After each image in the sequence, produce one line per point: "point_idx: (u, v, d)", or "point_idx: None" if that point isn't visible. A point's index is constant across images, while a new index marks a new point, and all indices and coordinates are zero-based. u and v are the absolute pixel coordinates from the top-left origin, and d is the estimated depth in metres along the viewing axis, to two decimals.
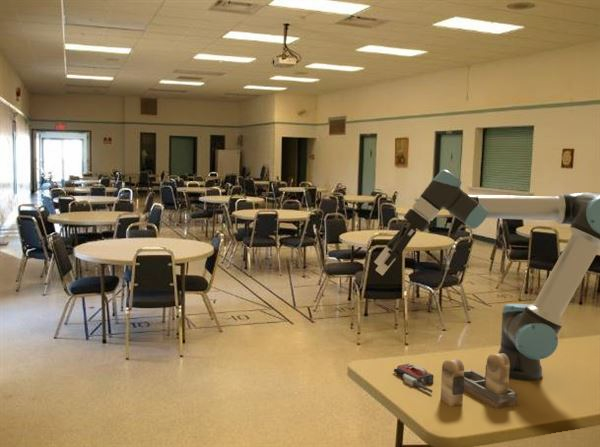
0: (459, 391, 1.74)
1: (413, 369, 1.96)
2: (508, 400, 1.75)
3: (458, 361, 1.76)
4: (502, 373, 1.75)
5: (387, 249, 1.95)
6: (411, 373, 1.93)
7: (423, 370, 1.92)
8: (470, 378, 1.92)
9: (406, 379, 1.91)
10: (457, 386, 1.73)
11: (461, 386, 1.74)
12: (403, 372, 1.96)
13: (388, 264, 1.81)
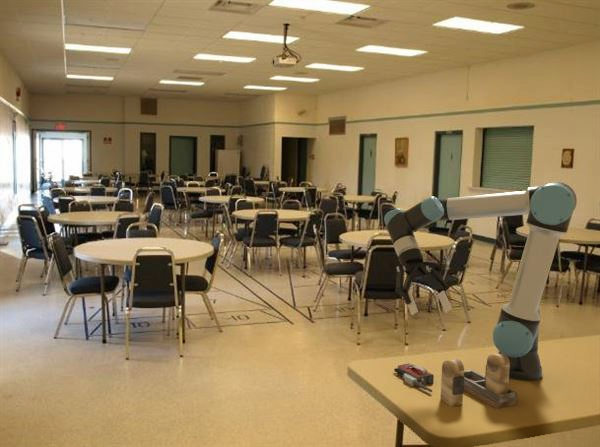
0: (459, 391, 1.74)
1: (413, 369, 1.96)
2: (508, 400, 1.75)
3: (458, 361, 1.76)
4: (502, 373, 1.75)
5: (439, 295, 1.94)
6: (411, 373, 1.93)
7: (423, 370, 1.92)
8: (470, 378, 1.92)
9: (406, 379, 1.91)
10: (457, 386, 1.73)
11: (461, 386, 1.74)
12: (403, 372, 1.96)
13: (407, 301, 1.85)
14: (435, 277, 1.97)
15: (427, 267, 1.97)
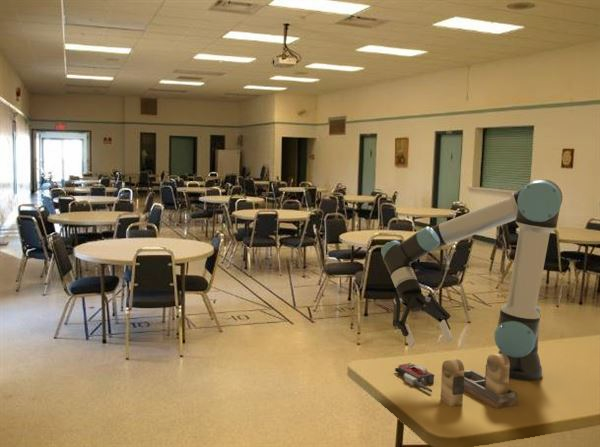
0: (459, 391, 1.74)
1: (414, 368, 1.96)
2: (508, 400, 1.75)
3: (458, 361, 1.76)
4: (502, 373, 1.75)
5: (440, 324, 1.92)
6: (412, 372, 1.93)
7: (424, 370, 1.92)
8: (470, 378, 1.92)
9: (406, 378, 1.91)
10: (457, 386, 1.73)
11: (461, 386, 1.74)
12: (404, 371, 1.96)
13: (404, 333, 1.84)
14: (435, 306, 1.95)
15: (426, 297, 1.96)
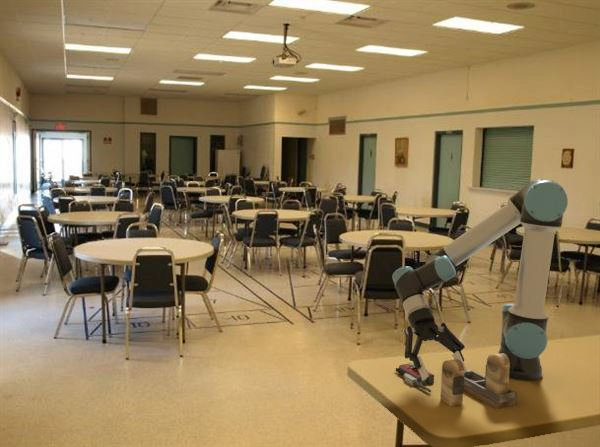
0: (459, 391, 1.74)
1: (414, 369, 1.96)
2: (508, 400, 1.75)
3: (458, 361, 1.76)
4: (502, 373, 1.75)
5: (454, 355, 1.84)
6: (412, 373, 1.93)
7: None
8: (470, 378, 1.92)
9: (406, 378, 1.92)
10: (457, 386, 1.73)
11: (461, 386, 1.74)
12: (404, 371, 1.96)
13: (416, 365, 1.77)
14: (449, 336, 1.87)
15: (439, 326, 1.88)
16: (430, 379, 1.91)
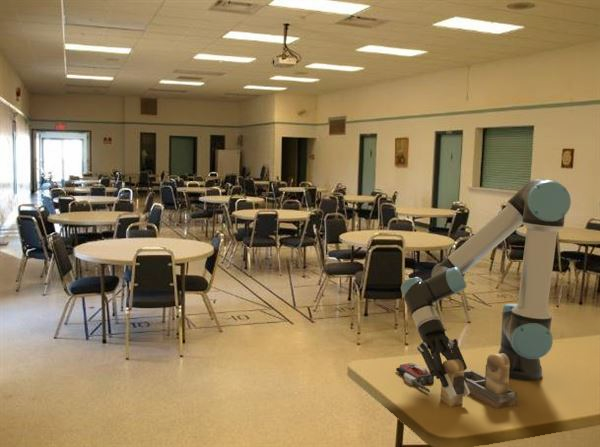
0: (459, 391, 1.74)
1: (414, 368, 1.97)
2: (508, 400, 1.75)
3: (458, 361, 1.76)
4: (502, 373, 1.75)
5: None
6: (412, 372, 1.94)
7: (423, 370, 1.92)
8: (470, 378, 1.92)
9: (406, 378, 1.92)
10: (457, 386, 1.73)
11: (461, 386, 1.74)
12: (404, 371, 1.97)
13: (444, 384, 1.74)
14: (455, 353, 1.82)
15: (450, 341, 1.85)
16: (430, 379, 1.91)
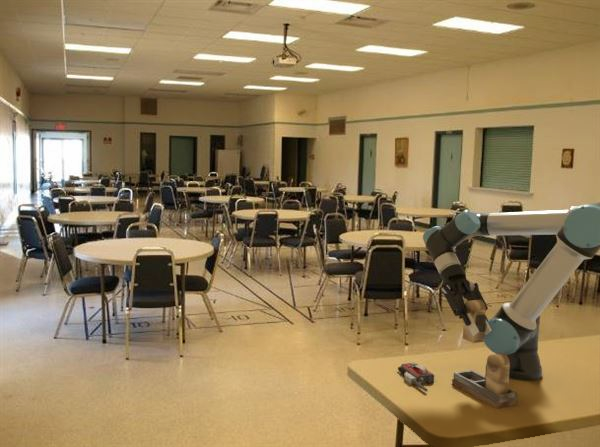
0: (481, 329, 1.84)
1: (415, 368, 1.97)
2: (508, 400, 1.75)
3: (480, 301, 1.86)
4: (502, 373, 1.75)
5: None
6: (412, 372, 1.94)
7: (424, 369, 1.93)
8: (470, 378, 1.92)
9: (406, 377, 1.93)
10: (479, 324, 1.83)
11: (483, 324, 1.84)
12: (405, 370, 1.97)
13: (467, 322, 1.84)
14: (476, 296, 1.92)
15: (471, 285, 1.95)
16: (429, 379, 1.91)
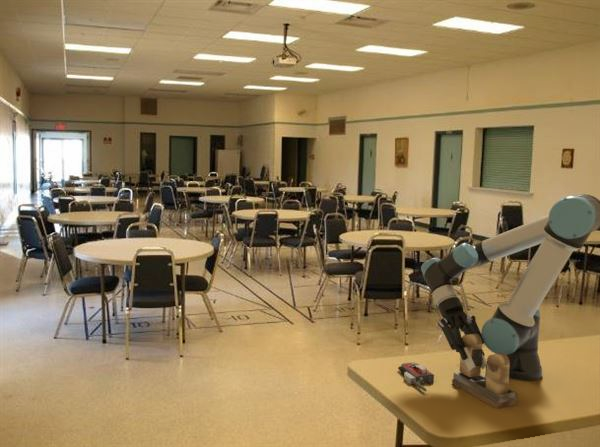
0: (477, 363, 1.86)
1: (415, 368, 1.97)
2: (508, 400, 1.75)
3: (476, 335, 1.87)
4: (502, 373, 1.75)
5: None
6: (412, 371, 1.94)
7: (423, 369, 1.93)
8: (470, 378, 1.92)
9: (405, 377, 1.93)
10: (476, 358, 1.85)
11: (479, 359, 1.86)
12: (405, 370, 1.97)
13: (463, 356, 1.86)
14: (473, 329, 1.94)
15: (469, 317, 1.96)
16: (429, 378, 1.91)
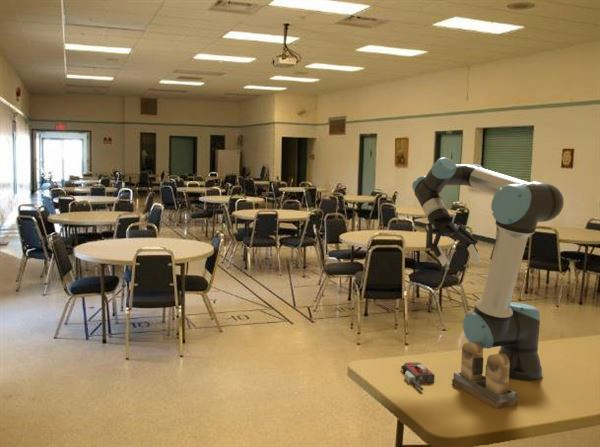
0: (478, 371, 1.86)
1: (417, 367, 1.98)
2: (508, 400, 1.75)
3: (477, 343, 1.87)
4: (502, 373, 1.75)
5: (468, 248, 2.10)
6: (412, 370, 1.95)
7: (424, 369, 1.93)
8: None
9: (406, 376, 1.94)
10: (477, 367, 1.85)
11: (480, 367, 1.86)
12: (407, 369, 1.98)
13: (437, 253, 2.03)
14: (463, 233, 2.13)
15: (455, 225, 2.15)
16: (429, 378, 1.91)
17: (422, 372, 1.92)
